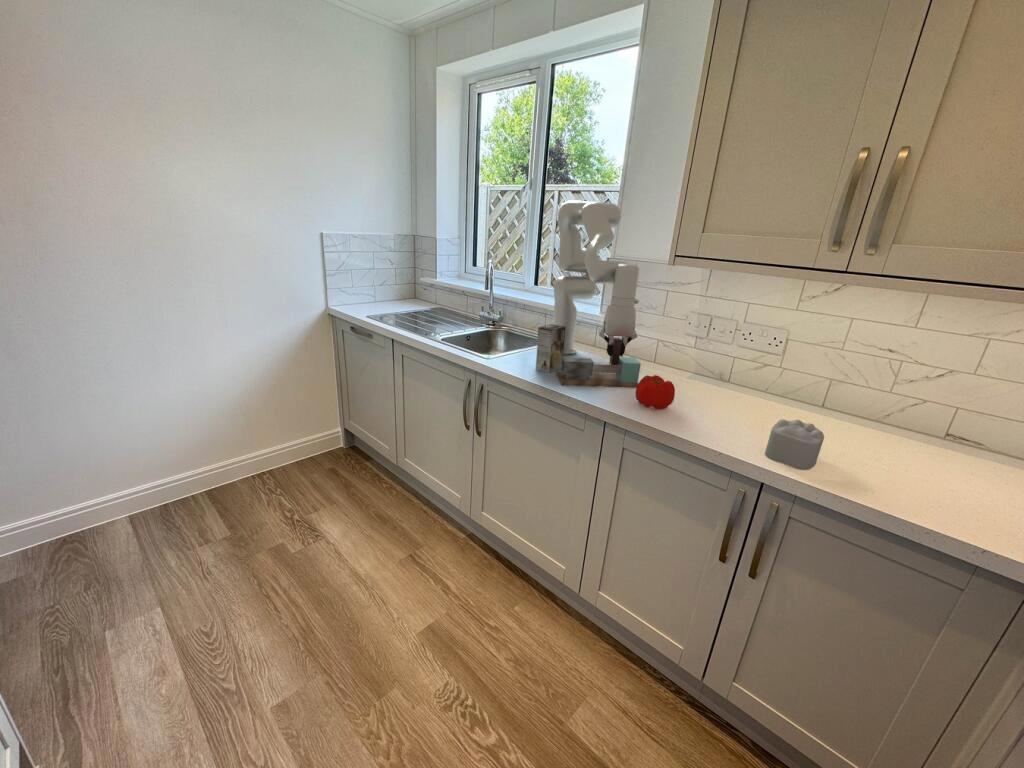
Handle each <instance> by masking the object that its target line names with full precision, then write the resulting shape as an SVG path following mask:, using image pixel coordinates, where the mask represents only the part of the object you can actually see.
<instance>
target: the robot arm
mask: <svg viewBox="0 0 1024 768" xmlns="http://www.w3.org/2000/svg"><path fill="white" fill-rule="evenodd" d="M621 215H622V214H621V209H620V207H619V206H618V205H617V204H616V203H612V202H601V201H600V202H599V201H584V200H582V201H581V200H567V201H564V202H563V203H561V205H560V206H559V209H558V213H557V225H558V230H559V231H558V232H559V246H558V249H559V252H558V253H559V254H558V256H559V257H558V268H559V270H560V271H561V272H563V273H571V274H572V273H573V274H574V273H575V274H576V273H579V274H581V276H580V275H578V276H577V275H562V276H559V277H558V278H556V280H555V281H554V283H553V293H554V294H553V295H554V304H553V305H554V309H553V320H552V324H554V325H559V326H565V327H566V329H565V340H564V351H563V355H574V354H576V353H577V348H576V347H574V341H575V332H576V325H577V324H576V323H577V322H576V321H577V314H578V312H577V311H578V310H577V307H576V305H575V303H574V300H575V301H576V300H578V301H579V300H590V299H592V298H593V297H594V295H595V293H596V289H597V284H602V285H605V284H606V285H607V284H608V285H609V284H611V285H612V290H611V291H612V292H611V300H610V304H608V305H607V308H606V310H605V314H604V318H603V322H602V328H601V330H600V331H599V333H598V336H599V337H600V338H602V339H603V340H605V342H606V343H607V347H606V353H607V355H608V356H609V357H610V356H612V352H613V345H612V342H613V338H615V337H621V339H622V344H621V351H620V357H624V354H625V352H626V347H627V346H628V344H629V343H630V342H631V341H633V340H635V339H637V338H638V334H637V331H636V319H637V318H636V315H637V314H636V313H637V312H636V307H635V305H636V304H637V305H638V304H639V299H637V298H636V293H637V288H638V287H637V286H638V280H639V279H638V278H639V274H640V267H639V266H638V265H637V264H634V263H633V264H632V263H627V262H625V261H619V260H618V261H617V260H615V261H614V260H600V257H599V255H598V251H600V250H602V249H604V248H606V247H608V246H609V245H611V243H612V242H613V241H614V237H615V234H614V231H613V229H614V228H616V227H617V226H618V225H619V224H620V223H621V218H622V216H621ZM577 225H578V226H584V229H585V231H586V234H587V237H588V241H589V244H588V245H587V247H586V248H582V235H581V232H580V230H579V229H578V227H577Z"/></svg>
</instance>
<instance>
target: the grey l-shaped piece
mask: <svg viewBox="0 0 1024 768" xmlns="http://www.w3.org/2000/svg"><path fill="white" fill-rule="evenodd" d="M621 344H622V338H620V337H614V338H613V342H612V345H613V352H612V356H609V361H593V362H594V365H593V373H614V374H616V373H619V374H621V367H622V364H621V363H619V358H620V357H621V356H620V351H621Z"/></svg>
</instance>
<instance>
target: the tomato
mask: <svg viewBox="0 0 1024 768" xmlns="http://www.w3.org/2000/svg"><path fill="white" fill-rule="evenodd" d="M675 393H676V389H675V385H674V384H673V382H672V381H670V380H666V381H665V379H664V378H663V377H661V376H660V375H656V374H654V375H645V376H643V377H642V378H641V379H640V380H639V381H638V385H637V388H635V398H636V400H637V402H638V403H639V404H640V405H642V406H643V407H645V408H653V409H655V410H658V411H661V410H665V409H667V408H668V407H670V405H672V404H673V402H674V400H675V396H676V394H675Z"/></svg>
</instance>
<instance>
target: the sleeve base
mask: <svg viewBox="0 0 1024 768" xmlns="http://www.w3.org/2000/svg"><path fill="white" fill-rule="evenodd" d="M594 362H595V361H593V360H592V358H587V357H585V358H584V357H565V356H563V358H562V368H560V369H561V370H560V371H559V370H556V376H557V378H559V379H558V381H559V382H560V385H561V386H569V385H572V386H573V385H574V387H596V386H604V387H603V388H605V387H606V388H623V389H624V388H627V389H628V388H629V389H636V388H637V385H638V383H639V382H638V383H628V382H620V381H619V380H618V378H617V377H616V376H615V374H616V373H593V365H594Z"/></svg>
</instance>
